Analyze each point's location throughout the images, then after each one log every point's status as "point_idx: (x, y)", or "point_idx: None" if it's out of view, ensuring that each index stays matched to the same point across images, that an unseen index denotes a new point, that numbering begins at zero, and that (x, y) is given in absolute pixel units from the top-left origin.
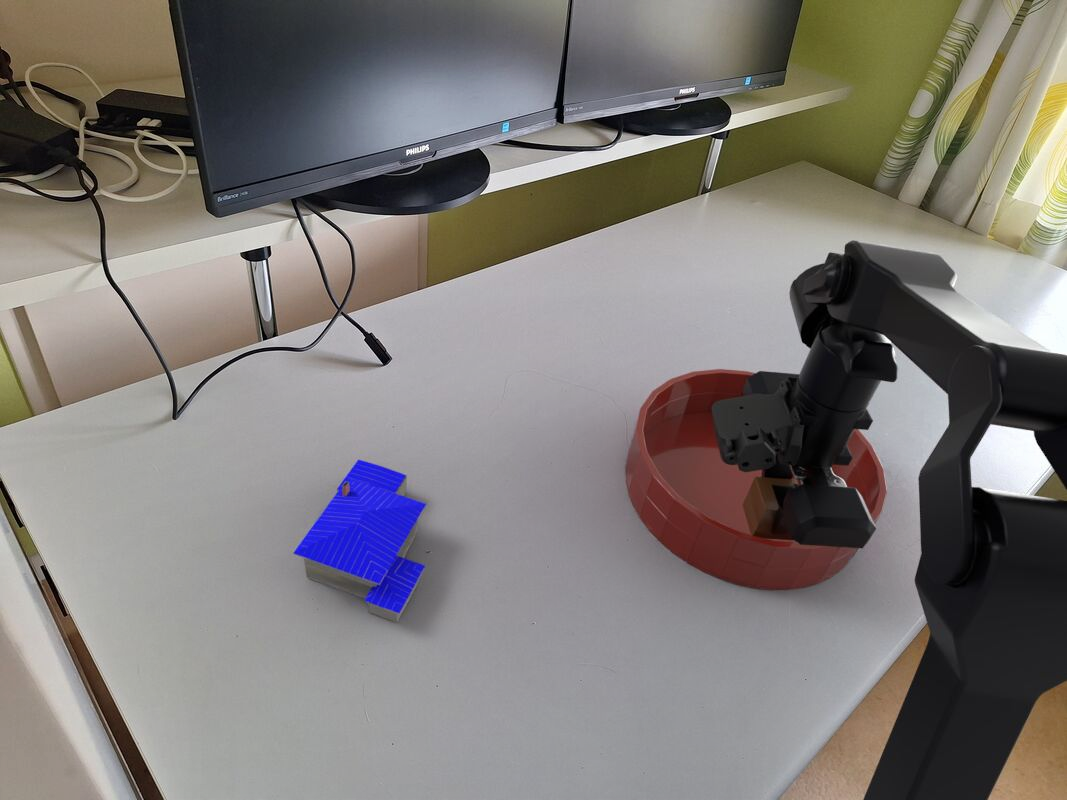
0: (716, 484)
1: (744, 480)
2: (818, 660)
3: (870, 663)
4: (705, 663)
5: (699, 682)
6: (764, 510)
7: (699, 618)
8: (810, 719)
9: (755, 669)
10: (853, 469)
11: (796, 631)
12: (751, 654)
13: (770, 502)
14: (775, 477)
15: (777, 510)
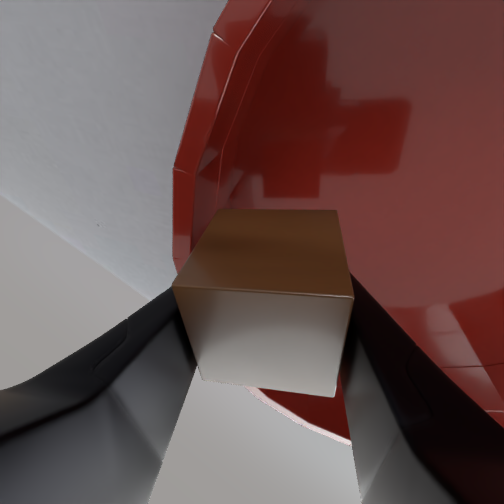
0: (501, 165)
1: (490, 232)
2: (131, 247)
3: (150, 297)
4: (44, 67)
5: (3, 48)
6: (178, 278)
7: (129, 66)
8: (48, 216)
9: (78, 160)
10: None
11: (163, 233)
12: (100, 159)
13: (212, 309)
14: (348, 355)
15: (162, 321)
